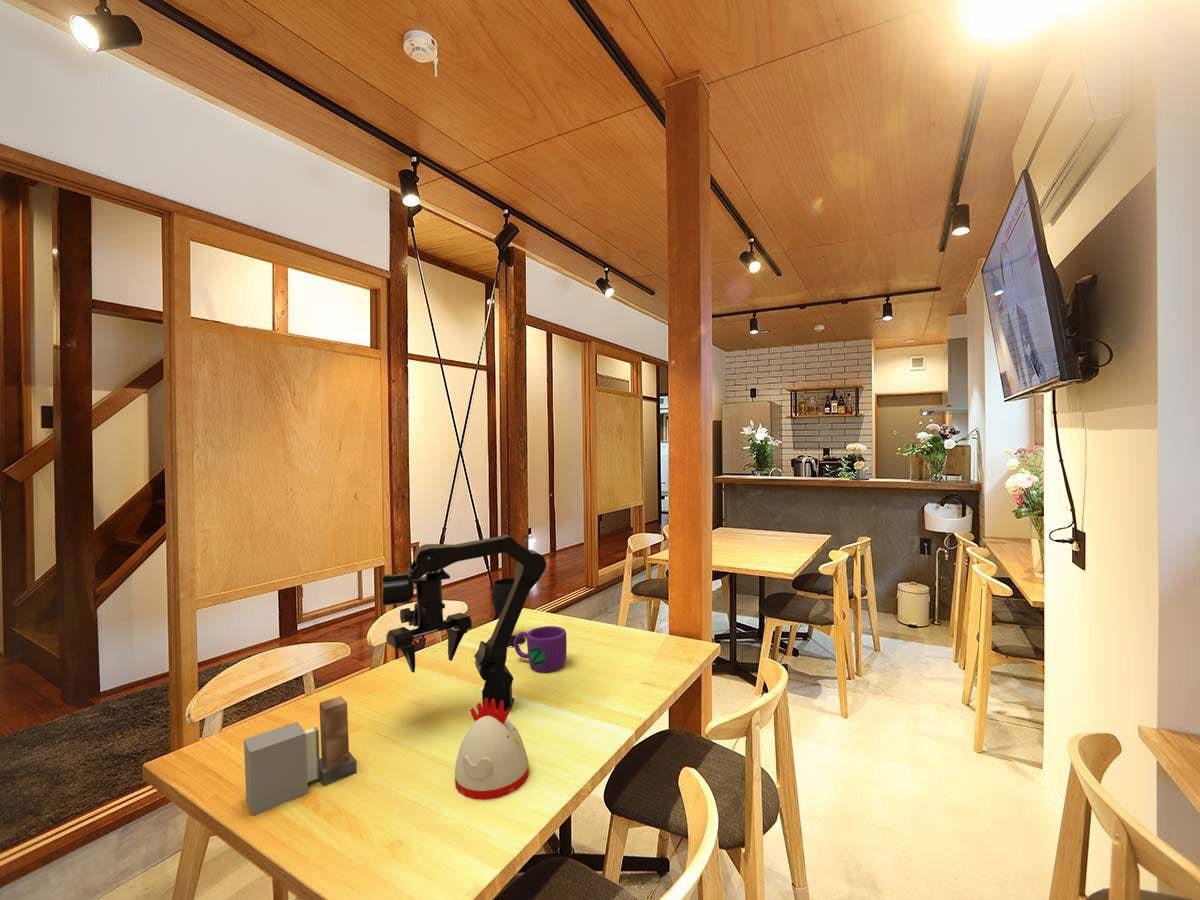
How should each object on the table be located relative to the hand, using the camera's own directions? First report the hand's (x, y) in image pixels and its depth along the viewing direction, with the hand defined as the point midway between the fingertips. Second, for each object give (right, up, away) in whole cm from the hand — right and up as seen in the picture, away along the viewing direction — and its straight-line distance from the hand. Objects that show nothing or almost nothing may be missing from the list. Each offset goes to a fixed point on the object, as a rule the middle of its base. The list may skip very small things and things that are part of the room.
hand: (432, 666), depth 125 cm
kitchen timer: (+19, -13, -22) cm, 31 cm away
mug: (+22, -12, +31) cm, 40 cm away
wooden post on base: (-13, -14, -19) cm, 27 cm away
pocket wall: (-21, -14, -26) cm, 36 cm away
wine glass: (+10, -13, +51) cm, 53 cm away
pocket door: (-18, -13, -24) cm, 33 cm away
